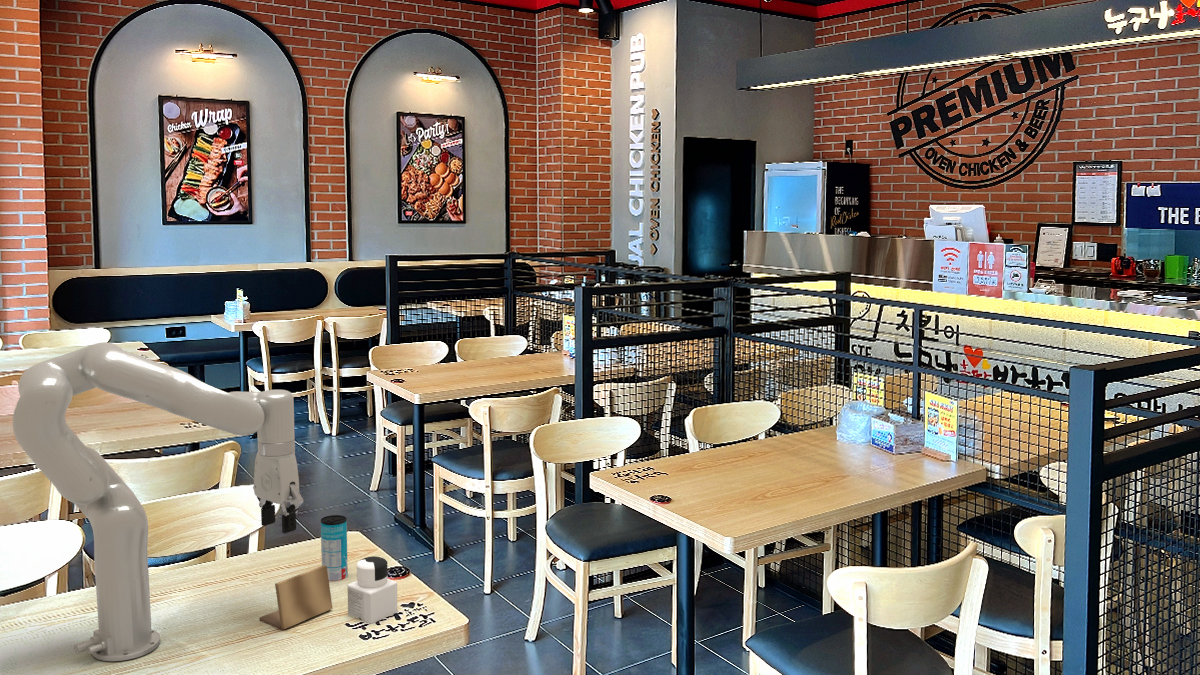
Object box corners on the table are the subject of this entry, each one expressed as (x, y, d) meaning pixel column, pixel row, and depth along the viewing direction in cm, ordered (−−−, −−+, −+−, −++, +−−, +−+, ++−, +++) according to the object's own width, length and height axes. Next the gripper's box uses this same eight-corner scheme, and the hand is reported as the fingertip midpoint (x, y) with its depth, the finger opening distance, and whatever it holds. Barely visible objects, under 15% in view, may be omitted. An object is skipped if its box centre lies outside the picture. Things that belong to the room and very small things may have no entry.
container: (374, 605, 217) (373, 550, 215) (398, 615, 212) (397, 558, 210) (347, 617, 211) (346, 561, 209) (371, 627, 206) (370, 569, 204)
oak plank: (278, 584, 201) (274, 583, 202) (284, 629, 202) (281, 628, 202) (326, 565, 211) (323, 565, 212) (332, 608, 212) (329, 607, 213)
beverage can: (352, 579, 231) (351, 519, 229) (331, 586, 226) (330, 525, 224) (338, 572, 235) (337, 513, 232) (317, 579, 230) (315, 519, 228)
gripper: (236, 444, 208) (239, 523, 211) (287, 458, 199) (289, 541, 201) (266, 437, 214) (268, 514, 217) (317, 451, 205) (318, 531, 208)
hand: (278, 527), depth 209 cm, fingers open, 6 cm apart
